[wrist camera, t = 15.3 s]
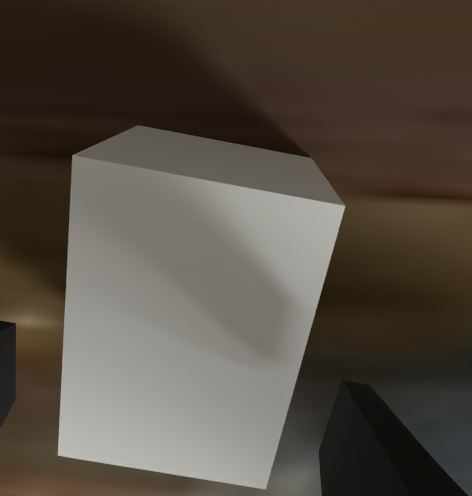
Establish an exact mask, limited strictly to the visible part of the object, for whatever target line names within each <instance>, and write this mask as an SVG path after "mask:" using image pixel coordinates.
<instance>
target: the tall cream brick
mask: <svg viewBox="0 0 472 496" xmlns="http://www.w3.org/2000/svg"><path fill="white" fill-rule="evenodd" d="M344 209H345V205H344V203H343V202H342V201H341V199H340V198H339V196H338V195H337V194H336V192H335V191H334V189H333V188H332V186H331V185H330V184H329V182H328V181H327V179H326V178H325V177H324V175H323V174H322V172H321V171H320V169H319V168H318V167H317V165H316V164H315V162H314V161H313V160H312V158H309V157H303V156H298V155H293V154H288V153H282V152H277V151H272V150H266V149H261V148H256V147H251V146H245V145H240V144H235V143H229V142H224V141H219V140H214V139H208V138H203V137H198V136H193V135H187V134H182V133H177V132H171V131H166V130H161V129H156V128H150V127H145V126H140V125H138V126H135V127H133V128H131V129H129V130H127V131H124V132H122V133H120V134H118V135H116V136H113V137H111V138H109V139H107V140H105V141H102V142H100V143H98V144H96V145H94V146H91V147H89V148H87V149H85V150H83V151H81V152H78V153H76V154H74V155H72V174H71V195H70V216H69V237H68V258H67V278H66V299H65V320H64V341H63V362H62V383H61V404H60V424H59V445H58V456H64V457H70V458H76V459H82V460H88V461H94V462H101V463H107V464H113V465H119V466H125V467H131V468H137V469H144V470H150V471H156V472H162V473H168V474H174V475H181V476H187V477H193V478H199V479H205V480H211V481H217V482H224V483H230V484H236V485H242V486H248V487H254V488H261V489H266V487H267V483H268V480H269V476H270V472H271V469H272V465H273V462H274V458H275V455H276V451H277V447H278V444H279V440H280V437H281V433H282V430H283V426H284V423H285V419H286V415H287V412H288V408H289V405H290V401H291V398H292V394H293V391H294V387H295V383H296V380H297V376H298V373H299V369H300V366H301V362H302V358H303V355H304V351H305V348H306V344H307V341H308V337H309V334H310V330H311V326H312V323H313V319H314V316H315V312H316V309H317V305H318V301H319V298H320V294H321V291H322V287H323V284H324V280H325V277H326V273H327V269H328V266H329V262H330V259H331V255H332V252H333V248H334V244H335V241H336V237H337V234H338V230H339V227H340V223H341V220H342V216H343V212H344Z"/></svg>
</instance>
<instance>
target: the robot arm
mask: <svg viewBox="0 0 472 496" xmlns="http://www.w3.org/2000/svg"><path fill="white" fill-rule="evenodd" d="M15 386H16V323H10V322H5V321H0V427H1V425H2V423H3V422H4V420H5V418H6V416H7V414H8V412H9V410H10V409H11V407H12V405H13V403H14V401H15ZM319 459H320V476H321V488H322V496H468V495H467V494H466V493H465V492H464V491H463V490H462V489H461V488H460V487H459V486H458V485H457V484H456V483H455V482H454V481H453V479H452V478H451V477H450V476H449V475H448V474H447V473H446V472H445V471H444V470H443V469H442V468H441V467H440V465H439V464H438V463H437V462H436V461H435V460H434V459H433V458H432V457H431V456H430V454H429V453H428V452H427V451H426V450H425V449H424V448H423V447H422V445H421V444H420V443H419V442H418V441H417V440H416V439H415V437H414V436H413V435H412V434H411V433H410V432H409V431H408V429H407V428H406V427H405V426H404V425H403V424H402V422H401V421H400V420H399V419H398V418H397V417H396V415H395V414H394V413H393V412H392V411H391V409H390V408H389V407H388V406H387V405H386V404H385V402H384V401H383V400H382V399H381V398H380V397H379V396H378V394H377V393H376V392H375V391H374V390H373V389H372V388H371V387H370V386H369V385H365V384H359V383H353V382H348V381H342V382H341V385H340V388H339V391H338V394H337V397H336V400H335V403H334V406H333V409H332V412H331V415H330V419H329V422H328V425H327V428H326V431H325V434H324V437H323V440H322V443H321V446H320V449H319Z"/></svg>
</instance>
